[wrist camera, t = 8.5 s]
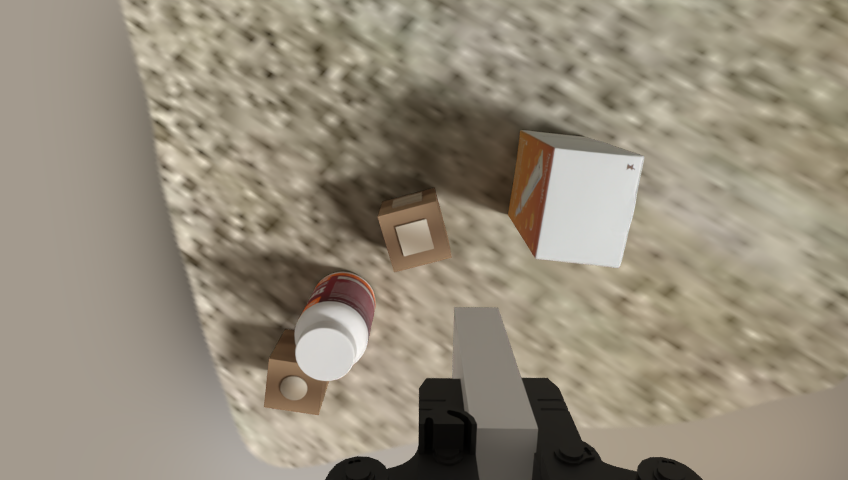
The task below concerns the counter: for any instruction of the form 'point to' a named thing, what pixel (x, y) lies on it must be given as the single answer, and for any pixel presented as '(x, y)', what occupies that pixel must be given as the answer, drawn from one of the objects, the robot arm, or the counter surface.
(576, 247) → the small box
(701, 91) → the counter surface
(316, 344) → the pill bottle
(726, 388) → the counter surface
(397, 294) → the counter surface
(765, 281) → the counter surface
